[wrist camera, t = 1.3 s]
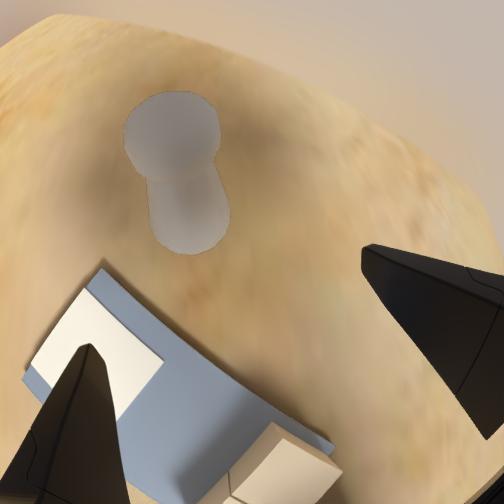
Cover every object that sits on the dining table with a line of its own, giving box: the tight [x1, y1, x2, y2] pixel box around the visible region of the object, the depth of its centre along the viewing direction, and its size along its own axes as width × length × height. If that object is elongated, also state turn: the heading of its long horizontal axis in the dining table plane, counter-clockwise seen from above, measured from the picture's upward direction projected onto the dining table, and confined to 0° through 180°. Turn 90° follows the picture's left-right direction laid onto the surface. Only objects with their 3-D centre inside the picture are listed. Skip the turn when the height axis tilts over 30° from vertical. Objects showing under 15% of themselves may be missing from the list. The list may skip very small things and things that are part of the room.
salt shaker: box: [123, 91, 231, 255], centre depth 18 cm, size 6×6×13 cm
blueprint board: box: [21, 268, 343, 504], centre depth 17 cm, size 22×12×5 cm, turn 53°
